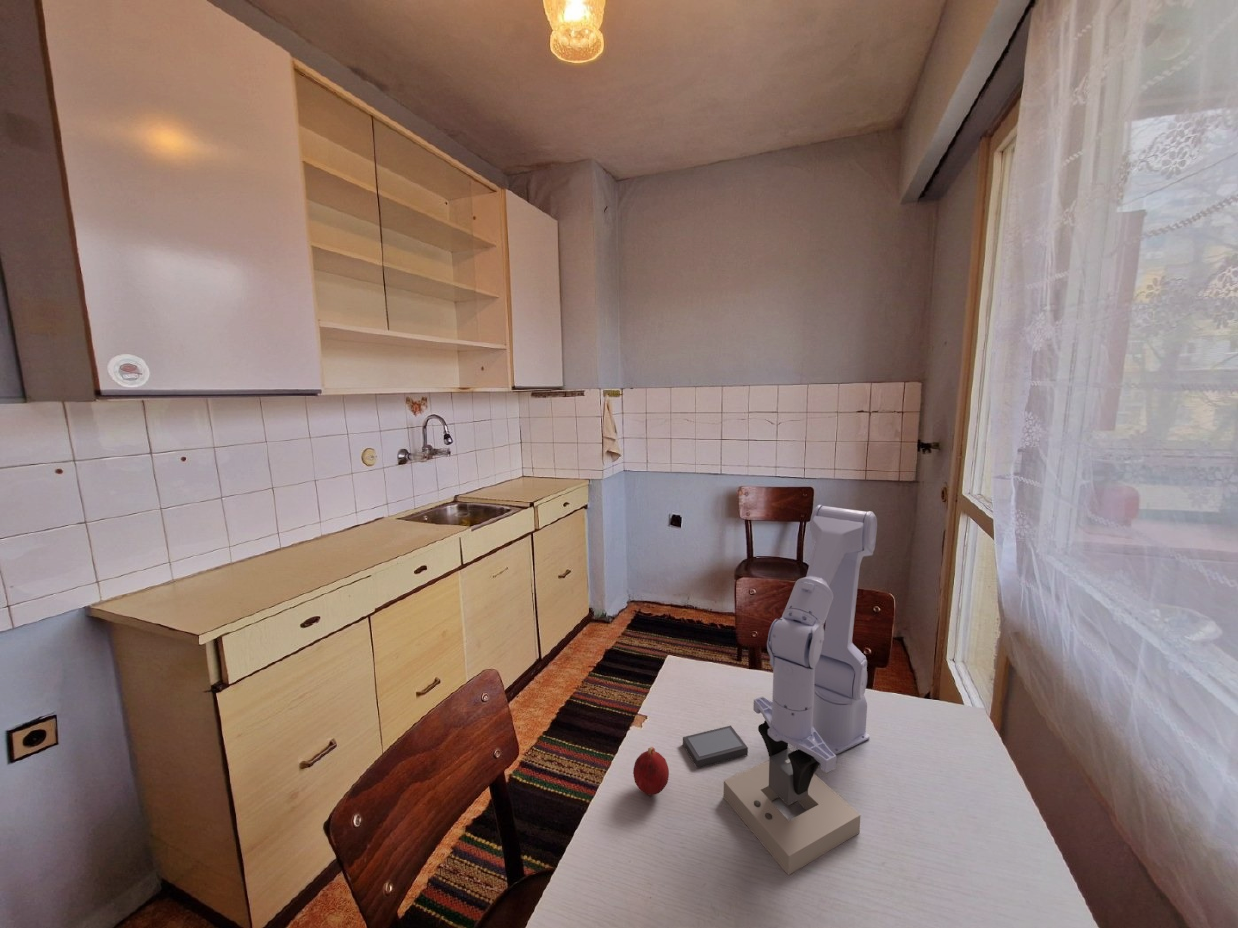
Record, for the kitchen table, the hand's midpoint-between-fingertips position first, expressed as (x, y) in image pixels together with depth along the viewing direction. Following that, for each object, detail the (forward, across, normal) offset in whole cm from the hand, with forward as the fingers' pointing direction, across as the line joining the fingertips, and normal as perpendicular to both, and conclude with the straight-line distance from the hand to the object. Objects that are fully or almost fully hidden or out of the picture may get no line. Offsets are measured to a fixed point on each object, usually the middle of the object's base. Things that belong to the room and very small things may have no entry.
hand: (789, 779), depth 72 cm
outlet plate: (+6, 0, 0) cm, 6 cm away
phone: (+6, -16, -2) cm, 17 cm away
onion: (+6, -13, -17) cm, 22 cm away
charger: (+2, 0, 0) cm, 2 cm away
